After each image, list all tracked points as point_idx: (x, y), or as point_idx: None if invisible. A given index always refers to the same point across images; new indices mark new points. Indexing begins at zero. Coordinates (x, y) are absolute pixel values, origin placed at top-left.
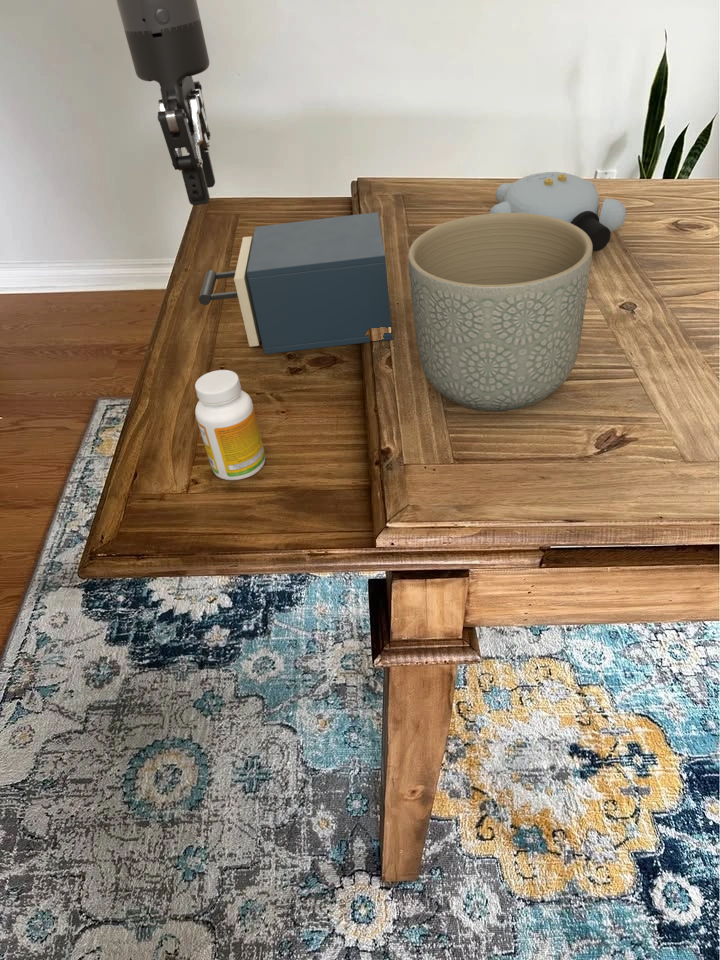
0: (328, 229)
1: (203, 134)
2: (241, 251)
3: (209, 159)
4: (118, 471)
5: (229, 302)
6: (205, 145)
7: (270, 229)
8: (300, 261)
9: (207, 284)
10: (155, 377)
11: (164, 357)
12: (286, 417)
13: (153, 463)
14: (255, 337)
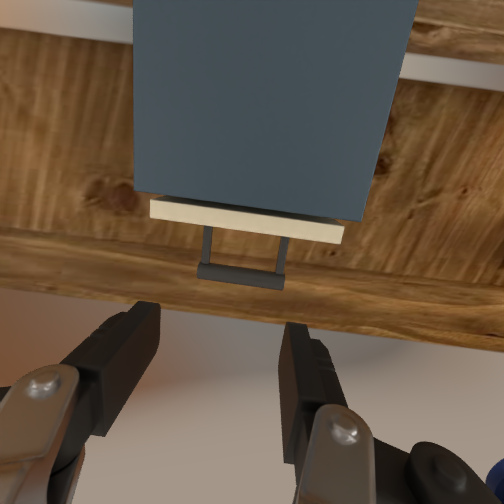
0: (212, 6)
1: (45, 461)
2: (220, 224)
3: (110, 349)
4: (475, 348)
5: (164, 237)
6: (75, 400)
7: (160, 157)
8: (371, 104)
9: (249, 278)
10: (320, 321)
11: (280, 313)
12: (477, 188)
13: (481, 321)
14: None
